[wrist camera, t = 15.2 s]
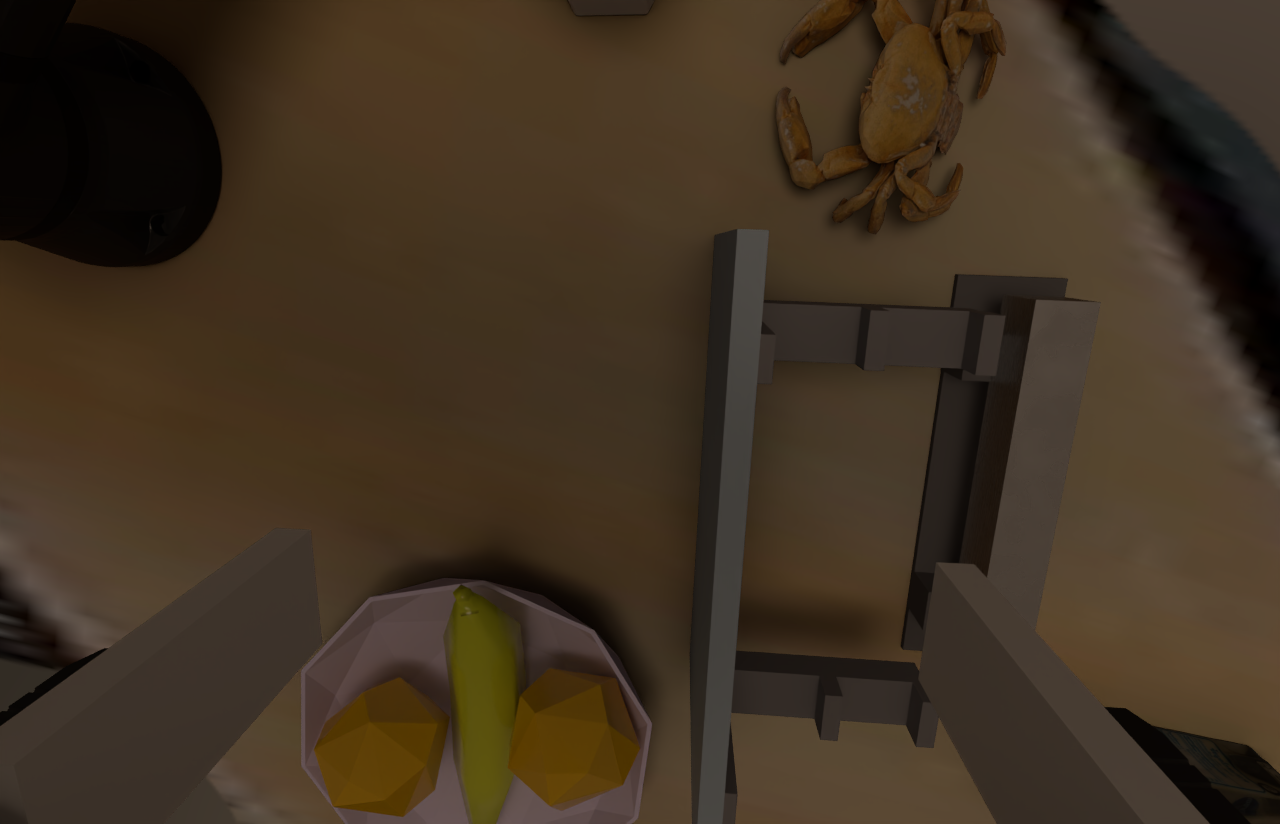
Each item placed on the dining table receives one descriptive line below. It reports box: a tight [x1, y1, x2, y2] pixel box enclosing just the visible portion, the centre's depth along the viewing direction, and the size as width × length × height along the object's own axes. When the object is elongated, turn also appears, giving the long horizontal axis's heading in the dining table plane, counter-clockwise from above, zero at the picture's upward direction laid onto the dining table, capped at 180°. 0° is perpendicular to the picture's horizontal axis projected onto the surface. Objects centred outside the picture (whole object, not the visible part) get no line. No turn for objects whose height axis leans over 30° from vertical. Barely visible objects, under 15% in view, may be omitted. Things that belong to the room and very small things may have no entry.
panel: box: [690, 229, 1006, 824], centre depth 39 cm, size 14×32×20 cm, turn 178°
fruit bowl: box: [301, 578, 652, 824], centre depth 49 cm, size 28×27×11 cm
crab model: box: [776, 0, 1006, 234], centre depth 40 cm, size 16×13×6 cm
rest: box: [901, 274, 1068, 651], centre depth 46 cm, size 7×28×4 cm, turn 178°
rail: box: [959, 295, 1101, 630], centre depth 43 cm, size 4×26×4 cm, turn 178°
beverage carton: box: [1154, 727, 1280, 824], centre depth 50 cm, size 8×19×7 cm, turn 79°
